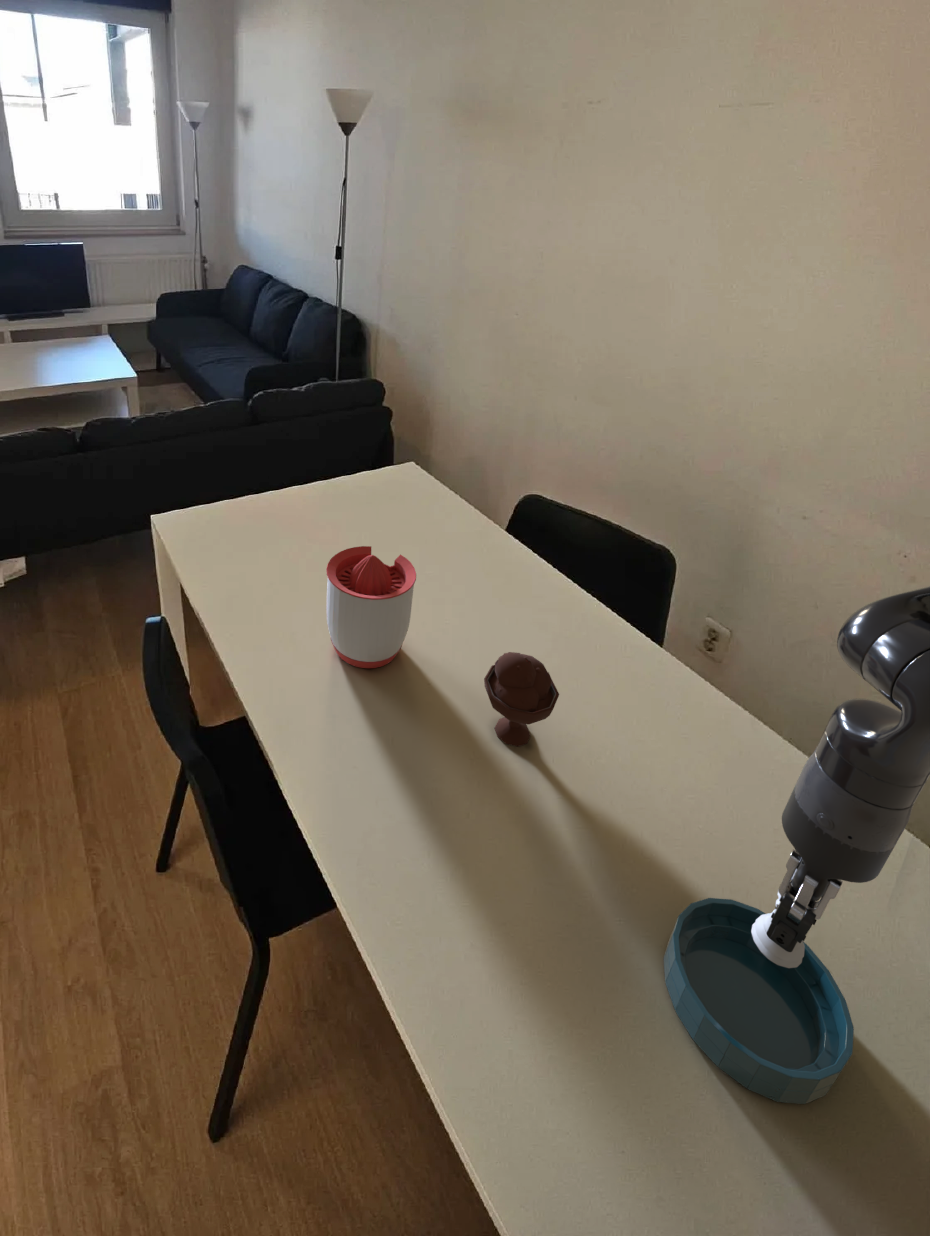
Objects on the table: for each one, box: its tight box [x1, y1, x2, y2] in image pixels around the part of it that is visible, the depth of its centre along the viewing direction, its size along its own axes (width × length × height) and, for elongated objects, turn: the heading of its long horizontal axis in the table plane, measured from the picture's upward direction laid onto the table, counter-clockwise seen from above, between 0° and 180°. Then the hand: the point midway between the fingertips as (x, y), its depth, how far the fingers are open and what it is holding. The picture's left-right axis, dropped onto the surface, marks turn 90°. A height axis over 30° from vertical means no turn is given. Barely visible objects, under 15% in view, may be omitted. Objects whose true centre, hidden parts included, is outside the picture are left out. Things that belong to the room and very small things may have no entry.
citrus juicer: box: [325, 545, 417, 669], centre depth 116 cm, size 16×17×20 cm
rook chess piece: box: [751, 883, 805, 968], centre depth 65 cm, size 4×4×8 cm
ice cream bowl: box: [483, 651, 560, 747], centre depth 100 cm, size 11×11×15 cm
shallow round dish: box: [663, 897, 855, 1105], centre depth 69 cm, size 16×16×5 cm
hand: (785, 927), depth 65 cm, fingers closed on rook chess piece, 3 cm apart
